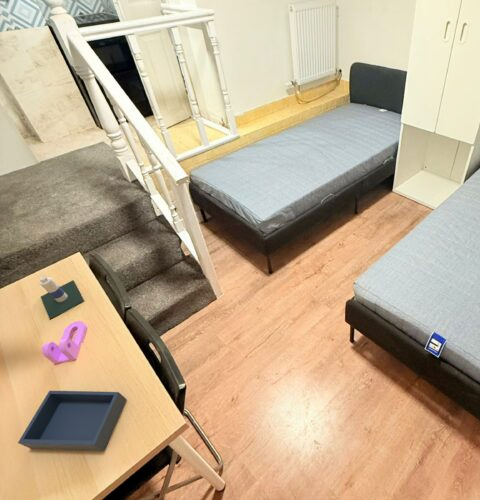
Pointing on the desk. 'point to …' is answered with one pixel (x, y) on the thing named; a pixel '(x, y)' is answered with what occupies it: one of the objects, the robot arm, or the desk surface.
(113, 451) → the desk surface
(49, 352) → the bracket
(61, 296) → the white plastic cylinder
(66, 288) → the desk mat
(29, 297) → the desk surface
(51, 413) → the dark blue tray
